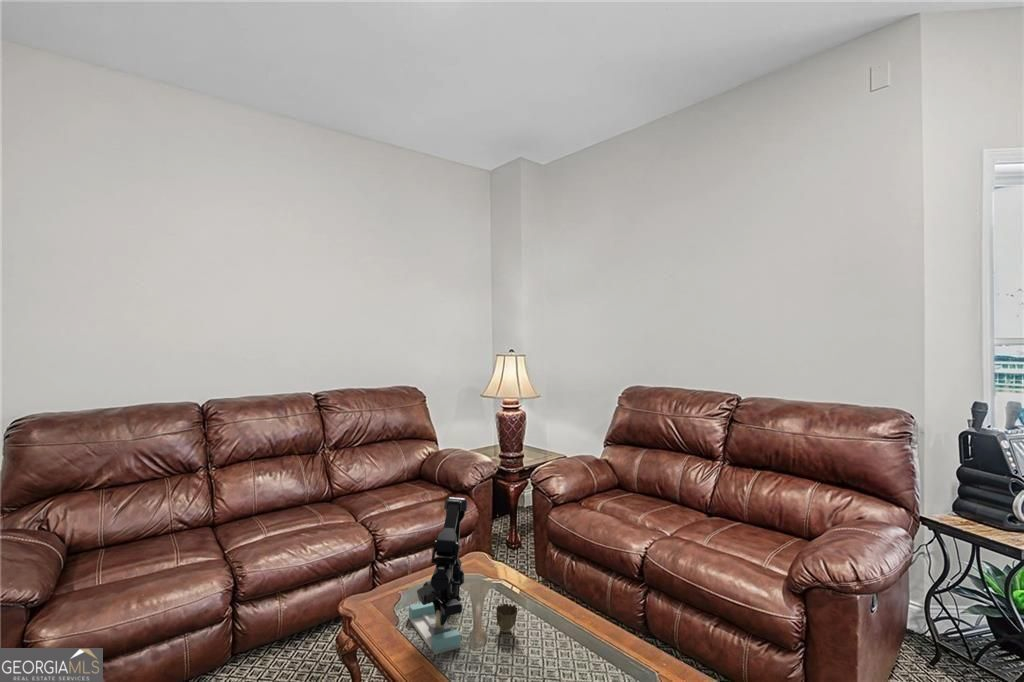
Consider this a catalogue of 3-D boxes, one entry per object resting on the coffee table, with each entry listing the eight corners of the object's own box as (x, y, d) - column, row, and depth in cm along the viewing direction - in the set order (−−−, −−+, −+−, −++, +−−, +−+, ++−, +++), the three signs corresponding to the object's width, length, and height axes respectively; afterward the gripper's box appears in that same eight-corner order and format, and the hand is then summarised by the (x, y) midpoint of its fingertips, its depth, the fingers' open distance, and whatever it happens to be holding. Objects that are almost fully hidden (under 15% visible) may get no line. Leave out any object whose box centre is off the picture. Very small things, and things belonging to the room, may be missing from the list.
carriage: (444, 629, 178) (446, 606, 178) (450, 636, 174) (452, 612, 174) (428, 633, 175) (430, 609, 175) (433, 640, 171) (435, 616, 171)
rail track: (431, 612, 191) (432, 600, 191) (460, 647, 171) (461, 634, 171) (408, 618, 186) (409, 605, 186) (434, 654, 166) (435, 640, 166)
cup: (494, 624, 186) (496, 602, 186) (514, 625, 187) (516, 603, 187) (495, 637, 179) (497, 613, 179) (516, 637, 179) (518, 614, 179)
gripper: (410, 568, 178) (406, 613, 178) (432, 593, 162) (428, 643, 162) (440, 562, 184) (437, 607, 184) (464, 586, 168) (461, 635, 168)
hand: (440, 622), depth 175 cm, fingers closed on carriage, 3 cm apart
